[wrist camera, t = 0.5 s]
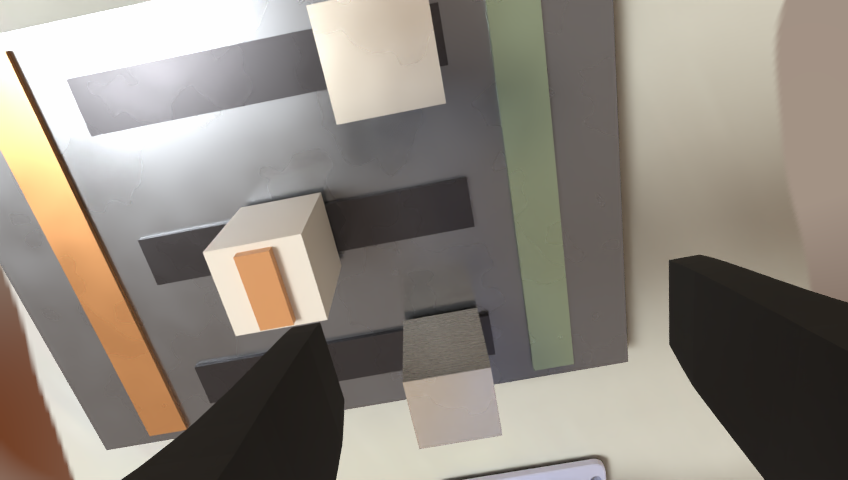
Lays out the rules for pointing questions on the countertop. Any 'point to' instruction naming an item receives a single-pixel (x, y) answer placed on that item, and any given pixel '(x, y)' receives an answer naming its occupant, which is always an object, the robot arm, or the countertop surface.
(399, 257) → the breaker panel
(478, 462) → the countertop surface
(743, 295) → the robot arm
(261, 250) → the block
